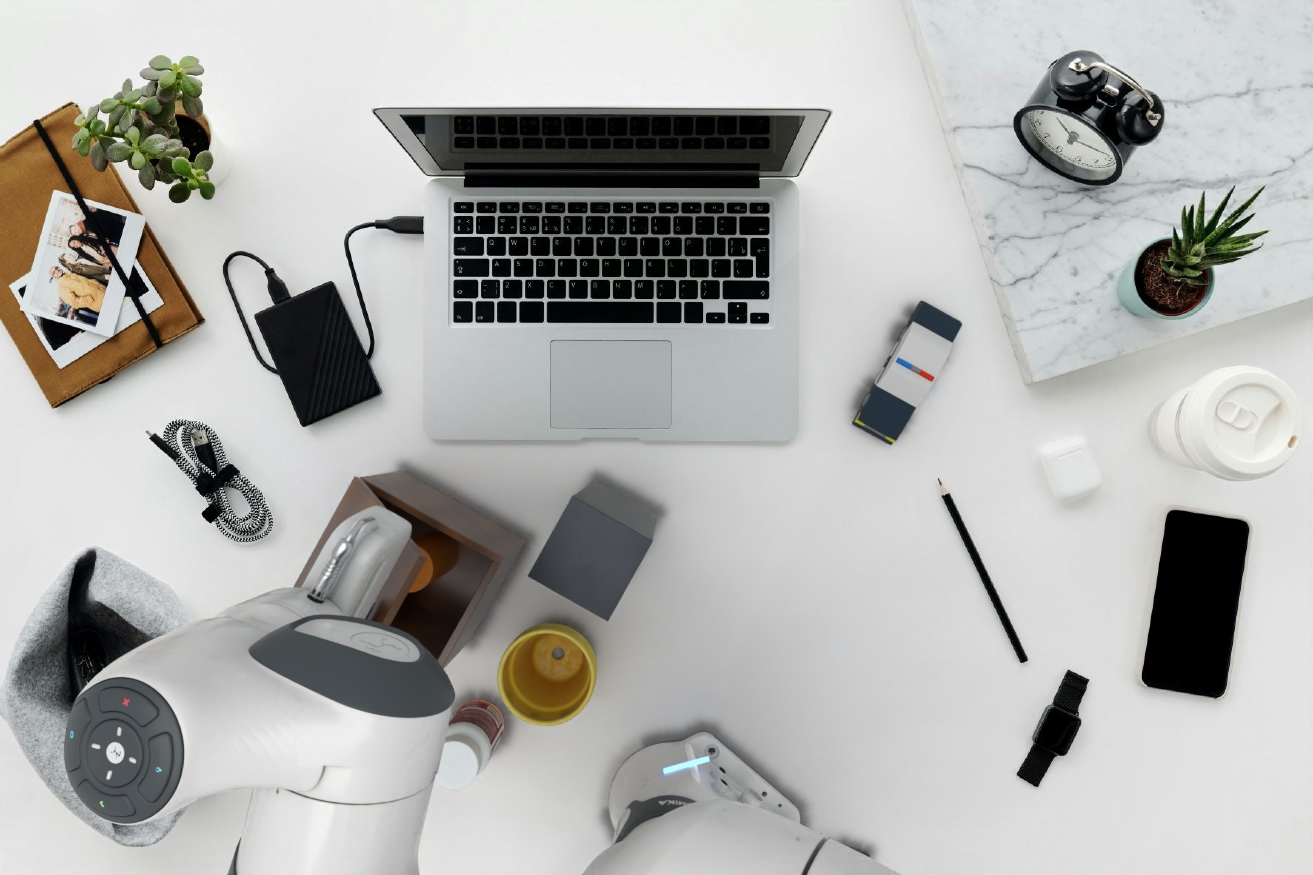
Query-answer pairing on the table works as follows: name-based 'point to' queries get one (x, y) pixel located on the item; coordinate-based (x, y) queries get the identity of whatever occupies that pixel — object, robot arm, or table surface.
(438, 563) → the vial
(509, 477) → the table surface
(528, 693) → the flower pot
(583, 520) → the stand
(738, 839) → the robot arm
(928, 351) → the toy car
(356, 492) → the chest lid
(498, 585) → the chest
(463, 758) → the pill bottle
